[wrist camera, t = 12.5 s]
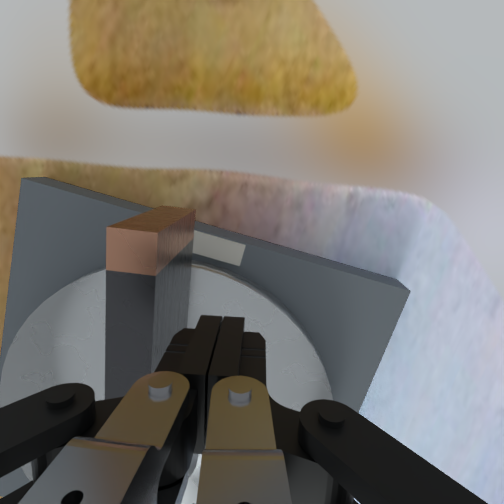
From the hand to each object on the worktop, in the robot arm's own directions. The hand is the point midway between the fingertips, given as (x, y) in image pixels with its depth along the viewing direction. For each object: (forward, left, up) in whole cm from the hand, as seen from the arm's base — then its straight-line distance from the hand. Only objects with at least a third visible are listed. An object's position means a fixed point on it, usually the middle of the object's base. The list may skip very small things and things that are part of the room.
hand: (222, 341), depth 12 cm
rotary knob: (-8, +2, -7) cm, 11 cm away
